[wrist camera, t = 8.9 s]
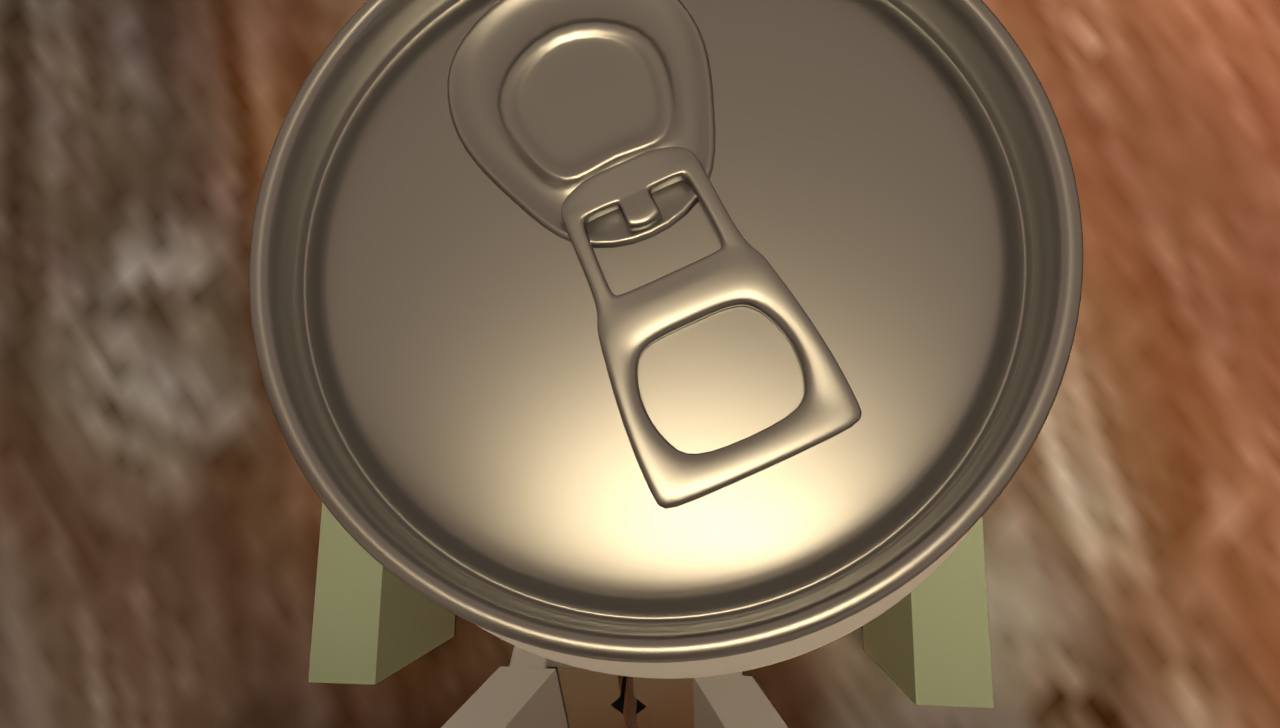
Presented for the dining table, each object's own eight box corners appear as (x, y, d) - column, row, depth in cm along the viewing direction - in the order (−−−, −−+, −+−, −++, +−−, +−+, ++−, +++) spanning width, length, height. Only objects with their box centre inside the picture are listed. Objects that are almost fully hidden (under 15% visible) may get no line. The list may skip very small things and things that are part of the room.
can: (756, 252, 17) (854, -306, 6) (887, 506, 16) (1392, 462, 4) (507, 365, 17) (89, 38, 6) (616, 630, 16) (354, 937, 4)
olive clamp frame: (921, 651, 16) (2594, 1962, 2) (402, 634, 17) (-1092, 1385, 3) (891, 16, 18) (1505, -1537, 4) (438, 36, 19) (-278, -1156, 5)
